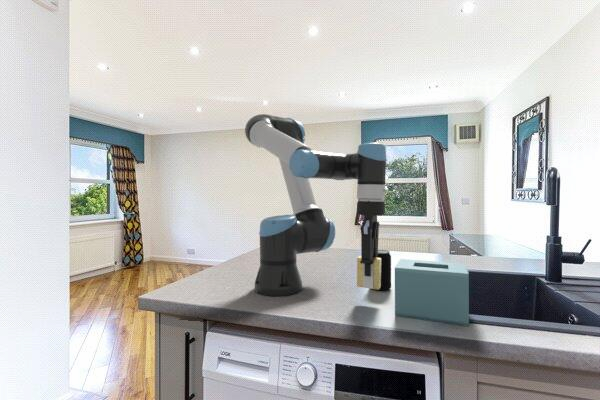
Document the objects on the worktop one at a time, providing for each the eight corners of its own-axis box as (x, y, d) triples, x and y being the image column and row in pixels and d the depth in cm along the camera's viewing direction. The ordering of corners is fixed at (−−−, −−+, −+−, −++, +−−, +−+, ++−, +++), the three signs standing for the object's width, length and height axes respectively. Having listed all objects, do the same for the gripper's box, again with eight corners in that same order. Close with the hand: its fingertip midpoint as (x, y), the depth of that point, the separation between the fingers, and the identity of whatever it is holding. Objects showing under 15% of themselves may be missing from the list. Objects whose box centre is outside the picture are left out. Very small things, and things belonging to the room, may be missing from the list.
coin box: (394, 315, 76) (394, 267, 76) (400, 300, 87) (400, 258, 87) (468, 326, 70) (468, 273, 69) (465, 308, 80) (464, 263, 80)
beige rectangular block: (356, 286, 85) (357, 257, 85) (359, 283, 88) (359, 255, 88) (378, 289, 83) (379, 260, 83) (380, 286, 86) (381, 257, 85)
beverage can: (392, 292, 95) (391, 253, 95) (370, 291, 97) (369, 252, 96) (390, 286, 102) (390, 249, 102) (369, 285, 103) (369, 249, 103)
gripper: (379, 201, 76) (377, 296, 77) (389, 200, 91) (387, 279, 91) (349, 200, 79) (348, 292, 80) (364, 199, 94) (362, 276, 94)
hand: (369, 285), depth 85 cm, fingers closed on beige rectangular block, 3 cm apart
